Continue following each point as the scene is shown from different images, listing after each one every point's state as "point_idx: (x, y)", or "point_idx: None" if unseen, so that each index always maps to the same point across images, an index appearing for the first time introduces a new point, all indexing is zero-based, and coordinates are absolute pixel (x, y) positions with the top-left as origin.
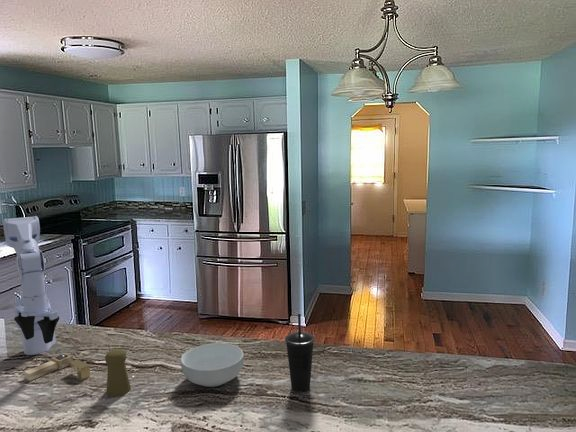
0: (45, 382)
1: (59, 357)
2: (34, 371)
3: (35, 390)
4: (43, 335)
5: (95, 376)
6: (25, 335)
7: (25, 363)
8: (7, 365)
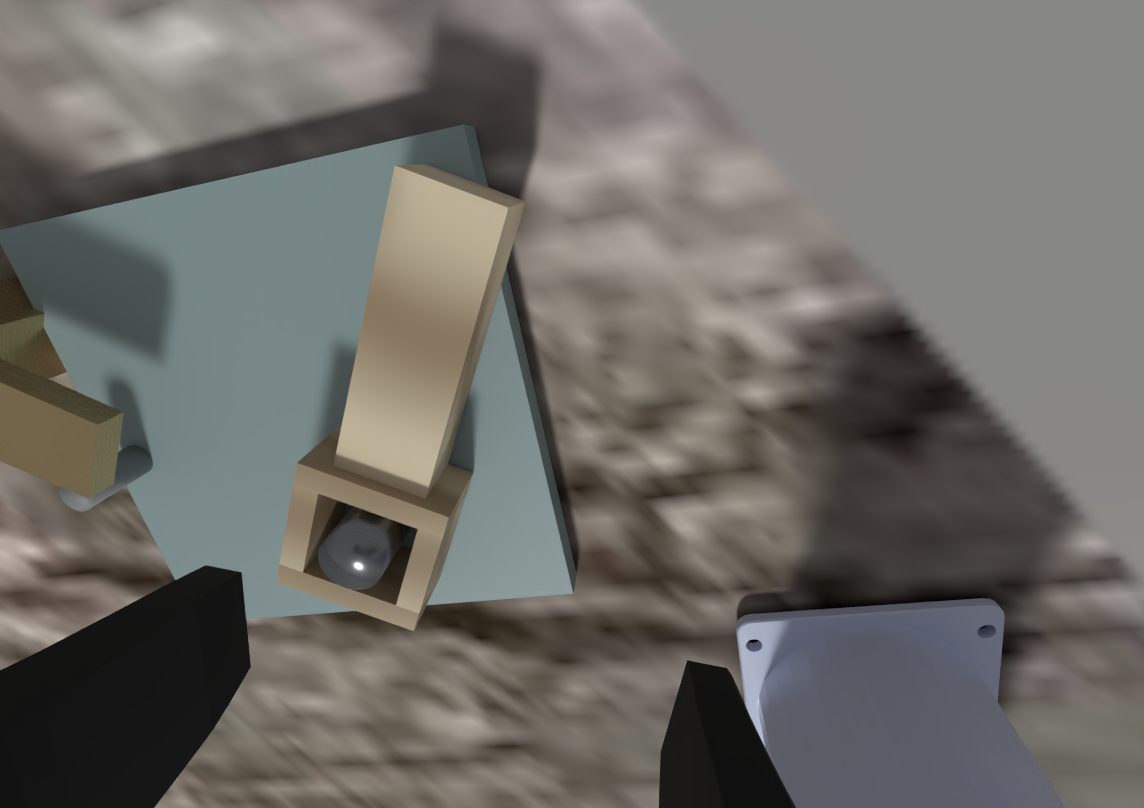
0: None
1: (347, 529)
2: (388, 239)
3: (293, 75)
4: (58, 672)
5: None
6: (705, 729)
7: (835, 524)
8: (1007, 471)
